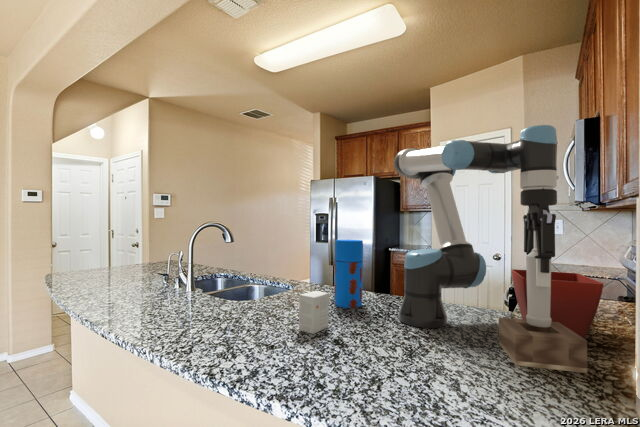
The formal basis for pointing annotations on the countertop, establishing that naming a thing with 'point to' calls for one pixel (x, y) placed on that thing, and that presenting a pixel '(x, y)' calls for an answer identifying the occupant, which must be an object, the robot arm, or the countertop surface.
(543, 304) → the bottle
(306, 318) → the small box
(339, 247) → the thermos
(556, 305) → the plant pot
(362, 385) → the countertop surface
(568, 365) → the socket block
